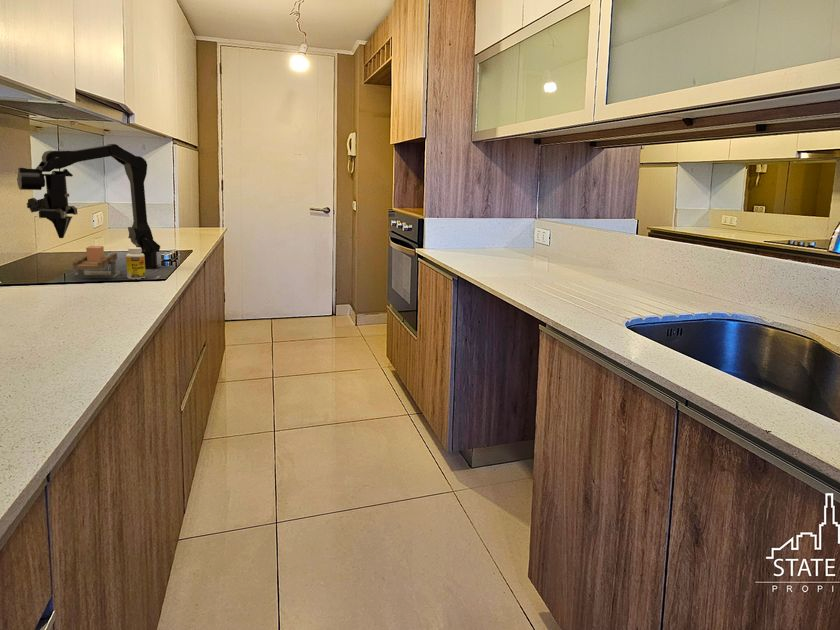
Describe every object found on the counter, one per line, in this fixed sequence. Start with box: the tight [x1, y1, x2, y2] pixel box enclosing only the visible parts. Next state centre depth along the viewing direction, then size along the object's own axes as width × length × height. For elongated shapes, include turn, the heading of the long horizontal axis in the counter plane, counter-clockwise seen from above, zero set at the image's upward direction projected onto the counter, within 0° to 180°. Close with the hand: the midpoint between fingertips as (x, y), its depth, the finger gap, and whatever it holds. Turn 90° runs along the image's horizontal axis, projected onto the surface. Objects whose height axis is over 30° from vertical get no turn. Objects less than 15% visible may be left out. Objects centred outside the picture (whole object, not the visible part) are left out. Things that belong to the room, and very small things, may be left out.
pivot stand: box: [73, 260, 121, 279], centre depth 197 cm, size 8×12×5 cm, turn 105°
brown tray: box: [72, 252, 118, 271], centre depth 196 cm, size 22×8×2 cm, turn 15°
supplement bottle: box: [125, 246, 147, 280], centre depth 195 cm, size 6×6×10 cm
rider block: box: [85, 245, 105, 262], centre depth 196 cm, size 5×4×4 cm
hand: (61, 238), depth 196 cm, fingers closed
